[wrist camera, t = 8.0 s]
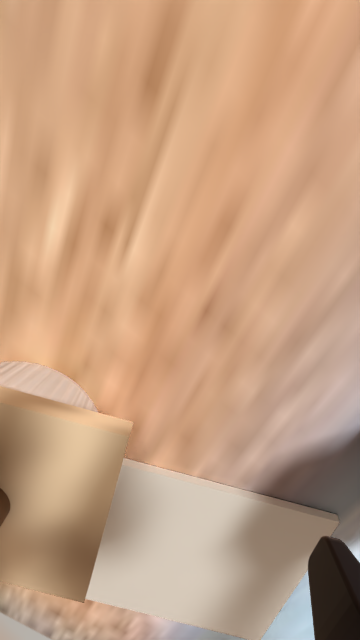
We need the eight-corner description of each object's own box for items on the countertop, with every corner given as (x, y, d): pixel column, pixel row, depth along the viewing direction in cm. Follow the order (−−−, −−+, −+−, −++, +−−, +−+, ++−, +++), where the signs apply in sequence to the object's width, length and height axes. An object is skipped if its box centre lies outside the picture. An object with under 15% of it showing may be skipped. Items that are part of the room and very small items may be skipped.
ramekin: (41, 501, 26) (3, 574, 21) (-77, 402, 23) (-153, 460, 18) (151, 435, 23) (136, 504, 18) (30, 310, 20) (-27, 352, 15)
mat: (337, 514, 24) (339, 522, 23) (257, 633, 30) (258, 642, 30) (118, 456, 23) (116, 463, 23) (83, 589, 30) (81, 597, 29)
